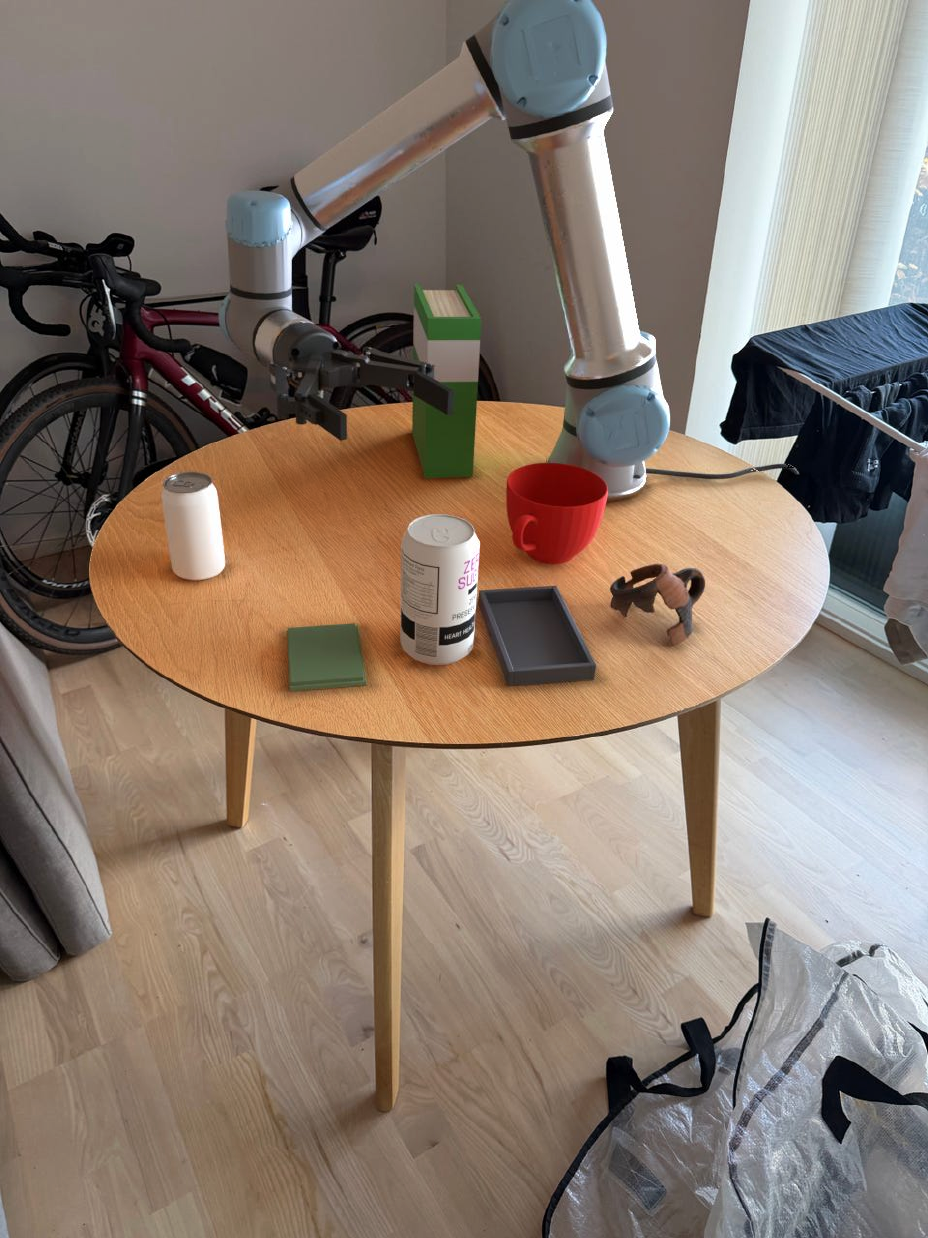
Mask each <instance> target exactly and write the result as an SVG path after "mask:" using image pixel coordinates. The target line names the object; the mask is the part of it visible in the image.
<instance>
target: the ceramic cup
mask: <svg viewBox="0 0 928 1238" xmlns="http://www.w3.org/2000/svg"><path fill="white" fill-rule="evenodd" d="M505 489H506V491H505V492H506V493H505V494H506V495H505V498H506V499H505V500H506V501H505V503H506V504H505V505H506V516H507V521H508V524H509V528H510V532H511V540H512V544H513V545H514V547H515V548H516V549H518V550H520V551H523V552H525V554H526V555H527V556H528V557H529V558H530V559H532V560H534V561H536V562H538V563H541V564H548V565H560V564H564V563H567V562H568V563H569V562H570V561H572V560H573V559H574V557H576V556H577V555H579V554H580V553H582V551H584V550H585V549H586V548H587V547H588V546H589V544H590V543H591V542H592V540H593V539H594V538H595V536H596V534H597V533H598V530H599V528H600V525H601V522H602V520H603V516H604V512H605V509H606V504H607V502H606V501H607V495H608V488H607V484H606V483H605V481H604V480H603V479H602V478H601V477H600V476H598V475H597V474H595V473H593V472H591V471H589V470H587V469H584V468H581V467H578V466H573V465H568V464H562V463H546V462H537V463H530V464H526V465H523V466H521V467H518V468H516V469H514V470H513V471H512V472H510V473H509V474H508V476H507V478H506V488H505Z"/></svg>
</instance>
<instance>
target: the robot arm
mask: <svg viewBox="0 0 928 1238" xmlns="http://www.w3.org/2000/svg"><path fill="white" fill-rule="evenodd" d="M599 11H600V10H599V9H598V8H597V6H596V5H595V4H594V2H593V0H506V1H505V2H504V4H503V5H502V7H501V8H500V10H499V11H498V12H497V13H496V14H495V15H494V16H493V17H492V18H491V19H490V20H489V21H488V22H487V23H486V24H485V25H484V26H483V27H482V28H480V29H479V30H478V31H477V32H476V33H474V34H472V36H470V37H469V38H466V40H464V41H463V42H462V47H461V49H460V53H459V56H458V57H456V58H455V59H454V60H453V61H452V62H450V63H449V64H448V65H446V66H444V67H443V68H442V69H440V70H439V71H437V72H436V73H435V74H433V75H432V76H431V77H429V78H427V79H426V80H425V81H423V82H422V83H421V84H419V85H418V86H417V87H415V88H414V89H412V90H411V91H410V92H408V93H407V94H405V95H404V96H402V97H401V98H400V99H398V100H397V101H396V102H395V103H393V104H392V105H390V106H389V107H387V108H386V109H385V110H383V111H382V112H381V113H378V115H376V116H375V117H373V118H372V119H370V120H369V121H368V122H366V123H365V124H364V125H362V126H361V127H359V128H358V129H357V130H355V131H354V132H352V133H351V134H350V135H348V136H347V137H345V138H344V139H343V140H341V141H340V142H338V143H337V144H336V145H335V146H333V147H331V148H330V149H329V150H327V151H326V152H324V153H323V154H322V155H321V156H319V157H318V158H316V159H315V160H313V161H311V162H310V163H309V164H308V165H306V166H305V167H304V168H302V169H301V170H300V171H299V172H297V173H295V174H294V175H293V176H292V177H291V178H288V179H287V180H285V182H283V183H282V184H280V185H279V186H277V187H276V188H273V189H271V190H270V191H267V190H252V189H251V190H249V189H248V190H241V191H235V192H233V193H231V194H229V196H228V197H227V199H226V219H225V224H224V225H225V226H224V227H225V230H226V231H225V232H226V238H227V240H226V241H227V255H228V256H227V257H228V273H229V293H228V294H227V295H226V296H225V297H224V298H223V300H222V303H221V305H220V307H219V310H218V323H219V328H220V330H221V332H222V334H223V335H224V336H225V338H226V339H227V340H228V341H229V342H230V343H232V345H233V346H234V347H235V349H237V350H238V351H239V352H241V353H243V354H245V355H247V356H249V357H250V358H253V359H254V360H256V361H258V362H259V363H260V364H261V365H262V366H264V367H266V368H267V369H268V373H269V375H268V376H269V387H270V388H271V389H272V390H273V391H274V392H275V399H276V415H277V418H278V419H279V420H287V419H289V418H290V415H295V424H296V425H300V426H302V425H306V424H308V422H309V423H310V424H312V425H314V426H319V427H320V428H321V429H323V430H324V431H326V432H327V433H329V434H330V435H331V436H333V437H334V438H336V439H337V440H338V441H340V442H342V441H347V440H348V414H347V413H345V412H344V411H342V410H340V409H339V408H338V407H336V406H334V405H333V404H331V403H330V402H329V401H327V400H326V399H324V398H322V397H321V396H320V395H321V393H322V391H324V389H327V390H328V389H330V390H331V389H334V388H337V387H340V388H341V387H345V386H347V387H354V388H355V387H356V388H361V389H363V388H364V389H365V388H366V387H367V386H368V385H369V386H375V387H381V388H382V387H383V388H390V389H397V390H402V391H403V390H404V391H409V392H413V391H414V396H416V397H417V398H419V399H421V400H422V401H424V402H426V403H427V404H429V405H431V406H433V407H434V408H436V409H438V410H439V411H441V412H443V413H444V414H446V415H450V414H453V400H454V390H452V389H450V388H449V387H447V386H445V385H443V384H442V383H441V382H439V381H437V380H435V379H434V374H435V365H433V364H430V363H426V362H421V361H417V360H413V358H409V357H404V356H401V355H396V354H393V353H388V352H384V351H381V350H378V349H376V348H373V347H371V346H364V347H363V348H362V354H356V353H352V352H348V351H346V350H344V349H343V348H342V346H341V344H340V342H339V341H338V340H337V338H336V337H335V336H334V335H333V334H332V333H331V332H330V331H328V330H326V329H323V328H322V327H321V326H318V325H317V324H315V323H314V322H313V321H311V320H309V319H307V318H305V317H303V316H302V315H299V314H297V313H296V312H295V311H293V297H292V296H293V295H292V294H293V287H292V272H293V271H292V265H293V264H292V260H293V258H294V257H295V256H296V254H297V253H298V252H299V251H300V250H301V249H303V247H305V246H306V245H307V244H309V243H311V242H312V241H313V240H315V239H316V238H318V237H320V236H321V235H322V234H323V233H325V232H326V231H327V230H328V229H330V228H332V227H333V226H334V225H336V224H338V223H339V222H340V221H341V220H343V219H345V218H346V217H347V216H349V215H351V214H353V213H354V212H355V211H356V210H358V209H360V208H361V207H362V206H364V205H365V204H366V203H368V202H369V201H371V200H373V199H374V198H375V197H377V196H378V195H380V194H381V193H383V192H385V191H386V190H388V189H389V188H390V187H392V186H393V185H395V184H396V183H398V182H399V181H401V180H402V179H404V178H405V177H407V176H408V175H409V174H411V173H412V172H413V171H414V172H415V170H417V169H418V168H420V167H422V166H424V164H426V163H427V162H429V161H430V160H432V159H433V158H435V157H437V156H438V155H439V154H441V153H443V152H444V151H445V150H447V149H449V147H451V146H452V145H454V144H456V143H457V142H459V141H460V140H461V139H462V138H464V137H466V136H467V135H469V134H470V133H472V132H473V131H475V130H476V129H478V128H479V127H481V126H482V125H484V124H486V122H488V121H489V120H491V119H495V120H500V121H505V120H506V123H507V129H508V133H509V137H510V141H511V142H512V143H513V144H514V145H516V146H518V147H519V148H520V149H522V150H523V151H525V153H527V155H528V160H529V163H530V168H531V172H532V177H533V183H534V186H535V192H536V196H537V201H538V204H539V209H540V213H541V218H542V222H543V228H544V231H545V237H546V240H547V245H548V249H549V254H550V258H551V263H552V268H553V272H554V276H555V281H556V285H557V290H558V295H559V299H560V303H561V308H562V312H563V317H564V322H565V326H566V331H567V334H568V339H569V343H570V347H569V353H570V356H569V357H568V360H567V361H566V363H565V364H564V367H563V371H564V372H563V373H564V376H565V380H566V392H565V393H566V395H565V401H564V402H565V403H564V410H563V412H564V413H563V421H562V427H561V431H560V434H559V435H558V438H557V440H556V442H555V444H554V447H553V448H552V451H551V452H550V455H549V457H548V458H547V457H545V463H562V464H568V465H573V466H578V467H581V468H584V469H587V470H589V471H591V472H593V473H595V474H597V475H598V476H600V477H601V478H602V479H603V480H604V481H605V483H606V484H607V488H608V495H607V501H606V503H615V502H616V503H617V502H622V501H627V500H630V499H633V498H635V497H637V496H639V495H640V494H641V493H643V491H644V488H645V486H646V479H647V474H650V475H661V476H670V477H681V478H690V479H691V478H693V479H703V480H727V479H734V478H738V477H742V476H744V475H748V474H751V473H757V472H756V470H758V471H759V472H766V471H772V470H778V469H779V470H781V469H782V470H787V471H789V472H791V473H792V474H793V475H800V473H799V471H798V470H797V468H796V467H794V468H787V467H788V465H789V464H788V465H786V464H787V463H772V464H765V465H760V466H752V467H753V468H755V469H756V470H754V469H753V468H752V467H747V468H744V469H740V470H737V471H734V472H729V473H701V472H693V471H692V472H690V471H681V470H670V469H661V468H648V467H646V464H645V462H646V461H647V460H649V459H650V458H652V456H654V455H655V454H656V453H657V452H658V451H659V450H660V448H661V447H662V446H663V445H664V443H665V441H666V439H667V437H668V435H669V431H670V427H671V410H670V407H669V405H668V403H667V401H666V399H665V397H664V394H663V388H662V384H661V378H660V371H659V366H658V361H657V356H656V355H657V352H656V338H655V337H654V336H653V335H652V334H650V333H648V332H645V331H642V330H640V329H639V325H638V318H637V313H636V308H635V301H634V296H633V291H632V285H631V278H630V273H629V269H628V268H629V267H628V262H627V257H626V252H625V246H624V240H623V236H622V229H621V223H620V217H619V212H618V207H617V201H616V197H615V191H614V185H613V180H612V174H611V168H610V162H609V157H608V151H607V146H606V141H605V135H604V130H605V126H606V124H607V122H608V121H609V119H610V117H611V115H612V114H613V112H614V104H613V98H612V94H611V87H610V80H609V75H608V70H607V69H608V68H607V64H606V58H607V45H608V43H607V32H606V29H605V24H604V21H603V17H602V15H601V13H600V12H599ZM358 368H359V378H357V372H358ZM289 384H290V385H291V386H293V387H294V388H296V390H295V393H294V396H289V392H288V391H289V390H288V389H289ZM790 466H791V465H790ZM790 466H789V467H790ZM784 467H785V468H784ZM751 470H753V471H751Z"/></svg>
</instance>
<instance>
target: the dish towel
mask: <svg viewBox="0 0 928 1238" xmlns="http://www.w3.org/2000/svg"><path fill="white" fill-rule="evenodd" d="M286 637H287V639H286V641H287V660H288V661H287V662H288V677H289V678H288V682H289V683H288V684H289V692H300V691H301V692H302V691H314V690H326V689H327V690H328V689H337V688H339V689H341V688H350V687H351V688H352V687H365V686H367V685H368V683H367V682H368V681H367V675H366V669H365V663H364V656H363V651H362V645H361V637H360V631H359V626H358V625H356V623H355V622H354V623H352V622H351V623H339V624H338V623H337V624H326V625H323V624H322V625H310V626H309V625H307V626H293V627H287V630H286Z"/></svg>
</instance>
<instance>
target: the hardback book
mask: <svg viewBox="0 0 928 1238" xmlns="http://www.w3.org/2000/svg"><path fill="white" fill-rule="evenodd" d="M481 335H482V317H481V315H480V313H479V312H478V310H477V308H476V306H475V305H474V303H473V301H472V299H471V298H470V296H469V294H468V293H467V291H466V289H465V288H464V286H463V284H455V289H423V288H422V286H421V284H413V337H412V338H413V339H412V340H413V344H412V345H413V346H412V347H413V349H412V350H413V351H412V359H413V360H417V361H421V362H426V363H430V364H433V365H435V374H434V379H435V380H437V381H439V382H441V383H442V384H443V385H445V386H447V387H449V388H450V389H452V390H454V400H453V414H450V415H446V414H444V413H443V412H441V411H439V410H438V409H436V408H434V407H433V406H431V405H429V404H427V403H426V402H424V401H422V400H421V399H419V398H417V397H416V396H414V391H412V410H411V411H412V412H411V413H412V415H411V417H412V418H411V419H412V420H411V421H412V422H411V424H412V425H411V432H412V436H413V440H414V445H415V448H416V451H417V455H418V459H419V462H420V465H421V470H422V474H423V477H424V479H437V478H439V479H440V478H441V479H442V478H473V477H474V462H475V446H476V445H475V444H476V426H477V425H476V424H477V405H478V391H479V390H478V388H479V387H478V386H479V372H480V371H479V369H480V351H481Z"/></svg>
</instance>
